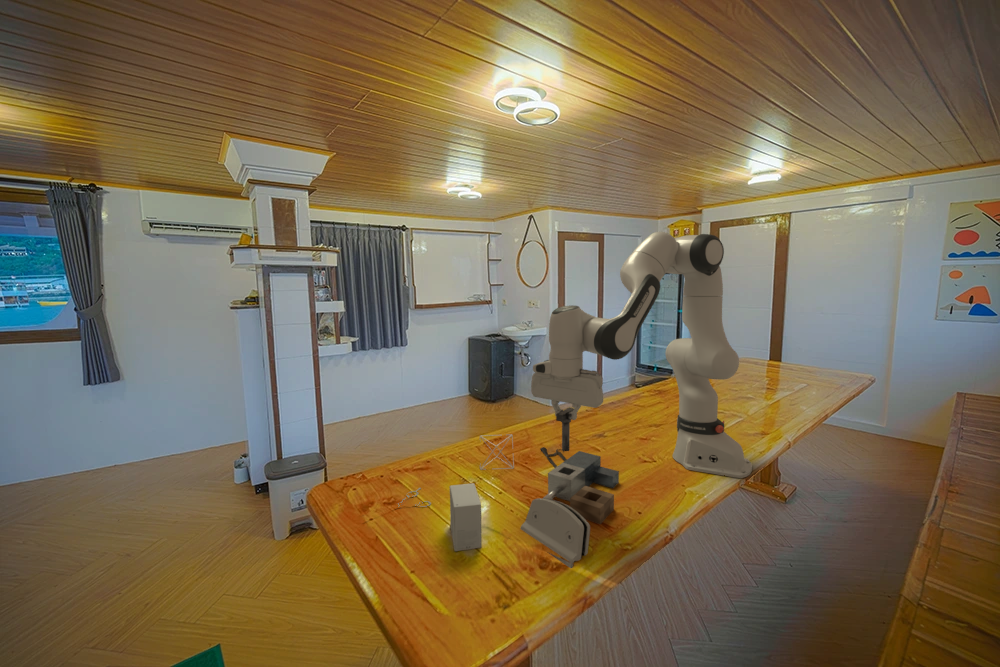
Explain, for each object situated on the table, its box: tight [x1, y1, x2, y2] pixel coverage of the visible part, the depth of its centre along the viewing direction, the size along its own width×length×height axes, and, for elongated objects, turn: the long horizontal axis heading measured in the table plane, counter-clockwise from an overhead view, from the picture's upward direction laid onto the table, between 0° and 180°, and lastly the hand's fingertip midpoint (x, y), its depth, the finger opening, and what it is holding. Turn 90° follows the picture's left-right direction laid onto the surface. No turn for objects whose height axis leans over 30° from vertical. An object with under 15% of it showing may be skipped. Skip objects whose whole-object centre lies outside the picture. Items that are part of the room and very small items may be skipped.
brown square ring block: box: [569, 486, 615, 525], centre depth 103 cm, size 8×8×5 cm
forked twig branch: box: [540, 446, 568, 469], centre depth 135 cm, size 24×10×2 cm, turn 12°
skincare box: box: [449, 482, 483, 552], centre depth 96 cm, size 10×6×10 cm, turn 12°
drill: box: [543, 450, 620, 502], centre depth 112 cm, size 25×13×7 cm, turn 142°
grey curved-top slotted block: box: [520, 497, 591, 569], centre depth 93 cm, size 17×5×10 cm, turn 39°
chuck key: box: [555, 407, 574, 452], centre depth 111 cm, size 3×7×11 cm, turn 142°
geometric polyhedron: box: [479, 434, 515, 471], centre depth 134 cm, size 12×11×9 cm
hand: (565, 417), depth 111 cm, fingers closed on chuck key, 3 cm apart
